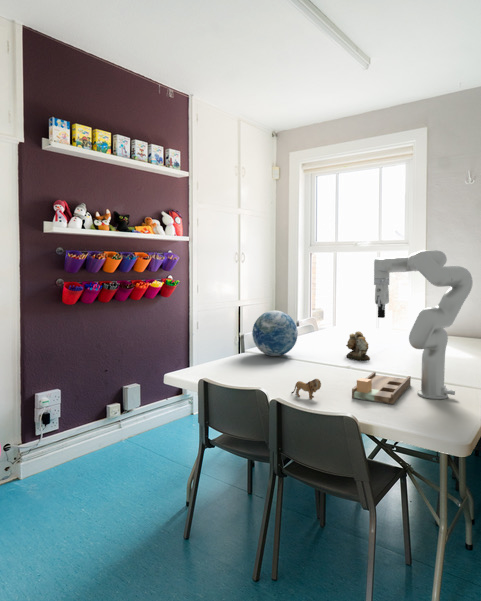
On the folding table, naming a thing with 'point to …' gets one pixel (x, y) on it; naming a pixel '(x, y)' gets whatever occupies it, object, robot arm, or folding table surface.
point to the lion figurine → (308, 387)
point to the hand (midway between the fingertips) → (381, 317)
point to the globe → (275, 333)
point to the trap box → (383, 389)
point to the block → (364, 385)
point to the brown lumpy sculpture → (357, 347)
